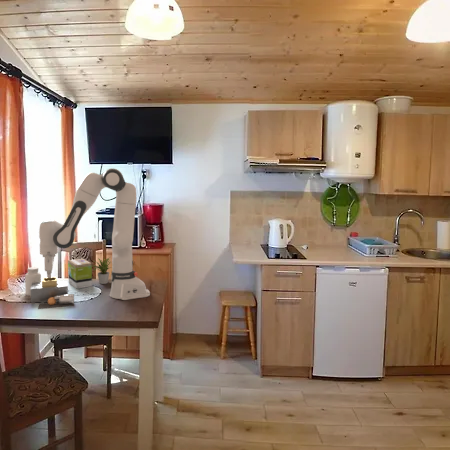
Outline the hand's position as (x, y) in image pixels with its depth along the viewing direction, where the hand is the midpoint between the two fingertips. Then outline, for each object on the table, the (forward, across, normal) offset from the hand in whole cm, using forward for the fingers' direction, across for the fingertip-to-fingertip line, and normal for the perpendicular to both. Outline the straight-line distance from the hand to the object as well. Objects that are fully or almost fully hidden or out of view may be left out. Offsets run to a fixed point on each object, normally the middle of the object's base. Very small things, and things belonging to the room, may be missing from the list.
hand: (49, 275), depth 217 cm
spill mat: (+13, -12, -3) cm, 18 cm away
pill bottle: (+13, +11, +9) cm, 19 cm away
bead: (+13, -12, -1) cm, 18 cm away
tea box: (+13, +24, -16) cm, 32 cm away
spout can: (+13, -13, -7) cm, 20 cm away
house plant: (+13, +26, -30) cm, 42 cm away
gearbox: (+13, 0, 0) cm, 13 cm away
